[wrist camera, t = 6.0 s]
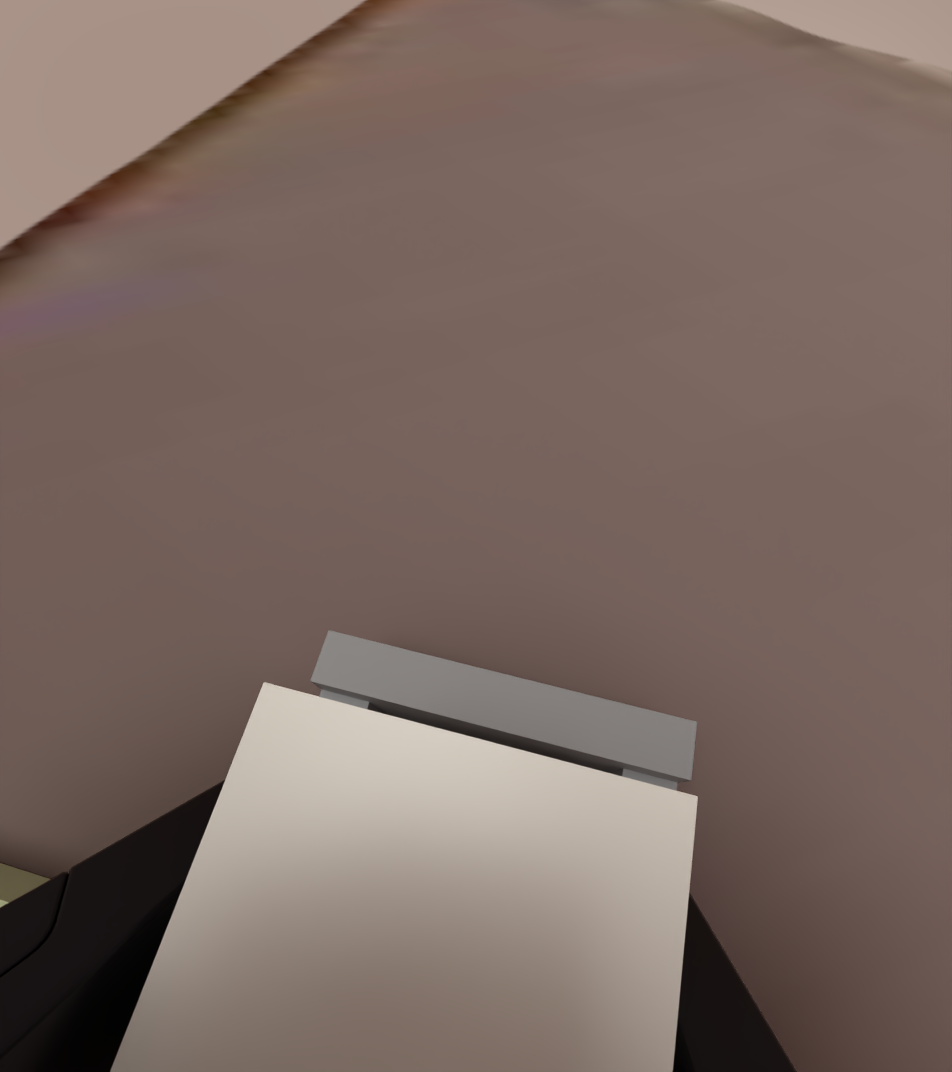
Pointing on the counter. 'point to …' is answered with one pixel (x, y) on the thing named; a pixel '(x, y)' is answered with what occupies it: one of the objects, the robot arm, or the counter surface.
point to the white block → (419, 909)
